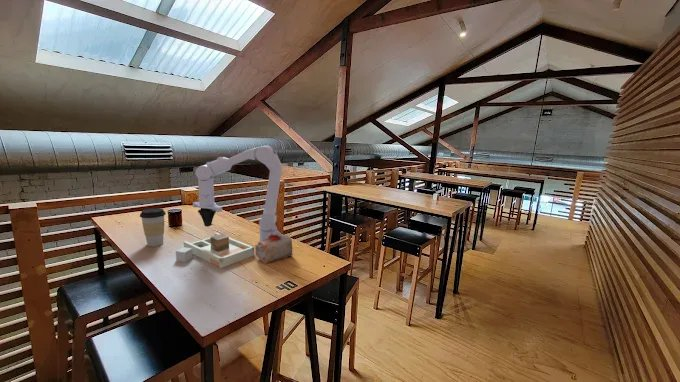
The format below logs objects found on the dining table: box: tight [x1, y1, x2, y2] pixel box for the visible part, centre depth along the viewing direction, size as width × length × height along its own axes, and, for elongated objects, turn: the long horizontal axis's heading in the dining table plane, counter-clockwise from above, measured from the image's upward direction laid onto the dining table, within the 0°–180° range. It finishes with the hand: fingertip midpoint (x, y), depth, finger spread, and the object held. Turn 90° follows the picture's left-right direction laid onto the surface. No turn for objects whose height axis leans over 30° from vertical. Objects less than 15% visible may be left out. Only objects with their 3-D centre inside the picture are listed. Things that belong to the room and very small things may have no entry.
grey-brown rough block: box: [254, 233, 294, 264], centre depth 118 cm, size 14×8×10 cm, turn 133°
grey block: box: [175, 246, 194, 263], centre depth 114 cm, size 4×4×4 cm
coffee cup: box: [139, 207, 167, 247], centre depth 126 cm, size 9×9×15 cm
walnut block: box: [209, 233, 230, 252], centre depth 120 cm, size 5×5×5 cm
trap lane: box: [183, 232, 255, 269], centre depth 122 cm, size 26×15×4 cm, turn 55°
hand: (208, 225), depth 124 cm, fingers closed
